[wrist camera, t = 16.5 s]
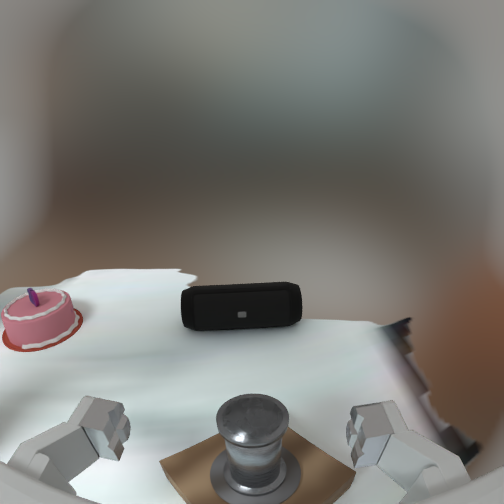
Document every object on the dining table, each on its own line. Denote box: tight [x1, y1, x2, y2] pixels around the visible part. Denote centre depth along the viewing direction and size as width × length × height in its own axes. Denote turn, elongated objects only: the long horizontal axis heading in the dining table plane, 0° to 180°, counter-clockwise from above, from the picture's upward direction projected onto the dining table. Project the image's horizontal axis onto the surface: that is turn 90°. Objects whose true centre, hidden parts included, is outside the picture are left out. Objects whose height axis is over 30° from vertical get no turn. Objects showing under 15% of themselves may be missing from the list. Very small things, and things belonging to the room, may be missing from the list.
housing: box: [216, 394, 289, 497], centre depth 26 cm, size 7×7×10 cm
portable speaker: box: [181, 282, 302, 330], centre depth 68 cm, size 26×10×10 cm, turn 94°
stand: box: [159, 427, 356, 504], centre depth 28 cm, size 16×16×4 cm
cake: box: [1, 288, 83, 352], centre depth 63 cm, size 25×25×11 cm
